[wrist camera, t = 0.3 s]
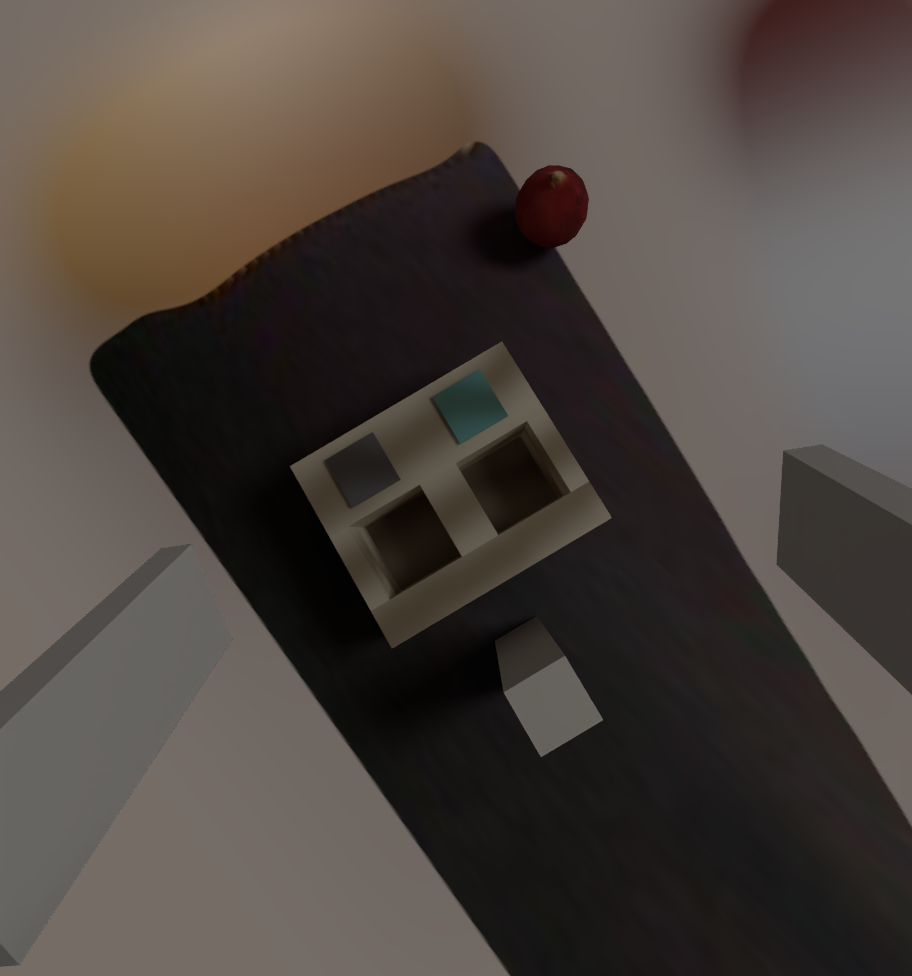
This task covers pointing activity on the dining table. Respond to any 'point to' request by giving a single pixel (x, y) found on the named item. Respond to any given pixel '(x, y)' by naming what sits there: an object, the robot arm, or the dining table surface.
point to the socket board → (449, 494)
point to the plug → (543, 687)
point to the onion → (551, 206)
